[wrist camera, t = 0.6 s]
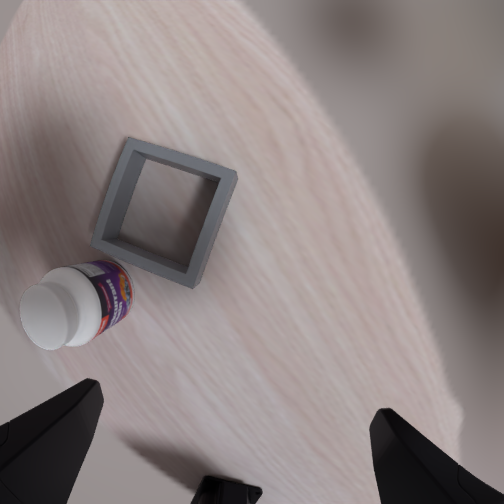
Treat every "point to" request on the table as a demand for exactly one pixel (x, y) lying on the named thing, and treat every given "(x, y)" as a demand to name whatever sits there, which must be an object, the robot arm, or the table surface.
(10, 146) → the table surface
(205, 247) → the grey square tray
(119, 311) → the pill bottle
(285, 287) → the table surface
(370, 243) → the table surface
